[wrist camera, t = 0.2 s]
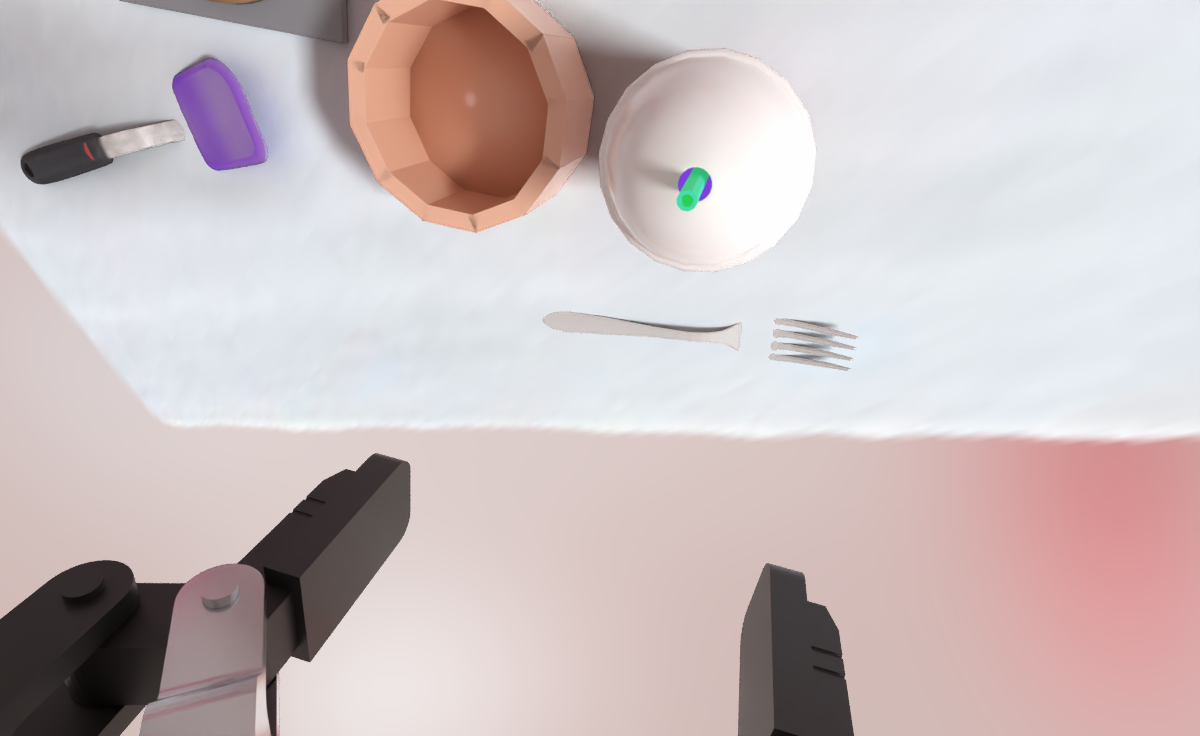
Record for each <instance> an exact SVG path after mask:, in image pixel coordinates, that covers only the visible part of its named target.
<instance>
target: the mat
mask: <svg viewBox="0 0 1200 736" xmlns="http://www.w3.org/2000/svg"><path fill="white" fill-rule="evenodd" d="M120 1H124V2H129V3H134V4H139V5H145V6H150V7H155V8H160V9H166V10H171V11H176V12H181V13H187V14H192V15H197V16H202V17H208V18H213V19H218V20H223V21H229V22H234V23H239V24H244V25H250V26H255V27H260V28H265V29H271V30H276V31H281V32H286V33H291V34H297V35H302V36H307V37H312V38H318V39H323V40H328V41H333V42H339V43H348V33H347V6H346V0H263V1H260V2H256V3H252V4H241V5H237V4H227V3H218V2H212V1H208V0H120Z"/></svg>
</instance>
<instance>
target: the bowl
mask: <svg viewBox="0 0 1200 736" xmlns="http://www.w3.org/2000/svg"><path fill="white" fill-rule="evenodd" d="M347 62H348V88H349V114H350V126H351V128H352V130H353V132H354V134H355V136H356V138H357V141H358V143H359V145H360V147H361V149H362V151H363V153H364V155H365V157H366V159H367V161H368V163H369V165H370V167H371V169H372V171H373V173H374V176H375V178H376V180H377V182H378V183H379V184H380V185H382V186H383V187H384V188H385V189H386V190H387V191H389V192H390V193H391V194H392V195H393V196H395V197H396V198H397V199H398V200H399V201H400V202H402V203H403V204H404V205H405V206H406V207H407V208H409V209H410V210H411V211H412V212H413V213H415V214H416V215H417V216H418V217H419V218H420V219H422V221H427V222H431V223H435V224H440V225H444V226H449V227H453V228H457V229H462V230H466V231H471V232H475V233H477V232H479V231H482V230H484V229H487V228H490V227H493V226H496V225H498V224H501V223H504V222H507V221H510V220H512V219H515V218H518V217H521V216H523V215H526V214H528V213H529V212H531V211H532V210H534V209H535V208H537V207H538V206H540V205H541V204H543V203H544V202H546V201H547V200H549V199H550V198H552V197H553V196H555V195H556V194H557V192H558V191H559V190H560V188H561V187H562V186H563V184H564V183H565V182H566V180H567V179H568V178H569V176H570V175H571V174H572V172H573V171H574V170H575V169H576V167H577V166H578V165H579V163H580V162H581V161H582V159H583V158H584V157H585V155H586V154H587V147H588V140H589V132H590V125H591V118H592V111H593V104H594V94H593V91H592V88H591V85H590V82H589V79H588V76H587V73H586V71H585V68H584V65H583V62H582V59H581V56H580V53H579V50H578V47H577V44H576V41H575V38H574V37H573V36H572V35H571V34H570V33H569V32H567V31H566V30H565V29H564V28H563V27H562V26H561V25H560V24H559V23H558V22H557V21H556V20H555V19H554V18H552V17H551V16H550V15H549V14H548V13H547V12H546V11H545V10H544V9H543V8H542V7H541V6H540V5H539V4H537V3H536V2H535V1H534V0H380V1H378V2H376V3H374V6H373V8H372V10H371V12H370V14H369V16H368V18H367V20H366V22H365V24H364V26H363V28H362V31H361V33H360V35H359V37H358V39H357V41H356V43H355V45H354V47H353V49H352V51H351V53H350V55H349V58H348V59H347Z"/></svg>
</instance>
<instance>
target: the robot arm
mask: <svg viewBox="0 0 1200 736" xmlns="http://www.w3.org/2000/svg"><path fill="white" fill-rule="evenodd" d="M409 518H410V465H409V463H408V462H406V461H403V460H399V459H396V458H392V457H389V456H385V455H381V454H377V453H375V454H373V455H372V456H370V457H369V458H368V459H367V460H366V461H365V462H364V463H363V464H362V465H361V467H359V468H358V470H357V471H356V472H355V471H351V470H347V469H345V470H343V471H341V472H339V473H337V474H335V475H333V476H331V477H329V478H327V479H325V480H323V481H322V482H321V483H320V484H319V485H318V486H317V487H316V488H315V489H314V490H313V491H312V492H311V493H310V494H309V495H308V496H307V498H306V500H303V501H302V502H301V503H300V504H298V506H296V508H294V510H293V512H292V513H289V514H288V515H287V516H286V517H285V518H284V519H283V520H282V521H281V522H280V523H279V524H278V525H277V526H276V527H275V528H274V529H273V530H272V531H271V532H270V533H269V534H268V535H267V536H265V538H263V540H261V541H260V542H259V543H258V544H257V545H256V546H255V547H254V548H253V549H252V550H251V551H250V552H249V553H248V554H247V555H246V556H245V557H244V558H243V559H242V560H241V561H240V562H238V563H237V564H226V565H220V566H216V567H213V568H211V569H208V570H205V571H203V572H201V573H200V574H198V575H196V576H195V577H193V578H192V579H191V580H189V581H188V582H187V583H180V584H176V583H171V584H169V583H136V582H135V578H134V575H133V572H132V570H131V569H130V568H129V567H128V566H127V565H125V564H123V563H120V562H117V561H109V560H103V561H94V562H89V563H85V564H81V565H78V566H75V567H73V568H71V569H69V570H66V571H64V572H62V573H60V574H59V575H57V576H55V577H54V578H52V579H51V580H49V581H48V582H47V583H46V584H44V585H43V586H42V587H40V588H39V589H38V590H37V591H35V592H34V593H33V594H32V595H30V596H29V597H28V598H27V599H25V600H24V601H23V602H22V603H20V604H19V605H18V606H17V607H15V608H14V609H13V610H12V611H10V612H9V613H8V614H7V615H5V616H4V617H3V618H1V619H0V736H120V734H121V733H122V732H123V731H124V730H125V729H126V728H127V727H128V725H129V724H130V723H131V722H132V721H133V720H134V718H135V717H136V716H137V715H138V714H139V713H140V712H141V710H142V709H143V708H144V707H145V706H146V705H147V706H146V709H145V711H144V715H143V719H142V724H141V730H140V735H139V736H279V671H280V669H281V668H282V667H283V665H284V664H285V663H286V662H287V660H288V659H289V658H290V657H291V656H292V657H295V658H298V659H301V660H304V661H307V662H310V661H311V660H312V659H313V658H314V656H315V655H316V654H317V652H318V651H319V650H320V648H321V647H322V646H323V644H324V643H325V641H326V640H327V639H328V637H329V636H330V635H331V633H332V632H333V631H334V629H335V628H336V627H337V625H338V624H339V623H340V621H341V620H342V619H343V617H344V616H345V615H346V613H347V612H348V611H349V609H350V608H351V606H352V605H353V604H354V602H355V601H356V600H357V598H358V597H359V596H360V594H361V593H362V592H363V590H364V589H365V588H366V586H367V585H368V584H369V582H370V581H371V579H372V578H373V577H374V575H375V574H376V573H377V571H378V570H379V569H380V567H381V566H382V565H383V563H384V562H385V561H386V559H387V558H388V556H389V555H390V554H391V552H392V551H393V550H394V548H395V547H396V546H397V544H398V543H399V542H400V540H401V539H402V537H403V535H404V533H405V531H406V528H407V525H408V522H409ZM841 657H842V650H841V643H840V636H839V630H838V628H837V626H836V625H835V623H834V621H833V619H832V618H831V616H830V614H829V612H828V610H827V609H826V607H825V606H822V605H819V604H815V603H812V602H808V601H807V594H806V584H805V577H804V574H803V573H801V572H798V571H794V570H791V569H787V568H783V567H780V566H776V565H772V564H769V563H767V564H766V565H765V566H764V568H763V571H762V573H761V576H760V578H759V581H758V583H757V586H756V589H755V591H754V594H753V596H752V599H751V601H750V604H749V606H748V609H747V612H746V615H745V619H744V622H743V628H742V634H741V646H740V683H739V722H738V736H854V733H853V726H852V720H851V712H850V706H849V699H848V691H847V685H846V680H845V679H844V677H845V671H844V664H843V659H842V658H841Z"/></svg>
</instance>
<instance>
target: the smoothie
mask: <svg viewBox="0 0 1200 736" xmlns="http://www.w3.org/2000/svg"><path fill="white" fill-rule="evenodd" d="M815 155H816V146H815V142H814V137H813V132H812V128H811V123H810V118H809V113H808V112H807V110H806V108H805V107H804V105H803V104H802V102H801V100H800V99H799V97H798V96H797V94H796V92H795V91H794V89H793V88H792V86H791V84H790V83H789V82H788V81H787V80H786V79H785V78H783V77H782V76H781V75H780V74H778V73H777V72H776V71H774V70H773V69H772V68H771V67H769V66H768V65H767V64H766V63H764V62H763V61H762V60H761V59H758V58H755V57H751V56H748V55H745V54H742V53H738V52H735V51H732V50H729V49H725V48H722V49H701V50H687V51H685V52H682V53H680V54H678V55H675V56H673V57H671V58H668V59H666V60H663V61H661V62H659V63H656V64H654V65H653V66H652V67H650V68H649V69H648V70H647V71H646V72H645V73H643V74H642V75H641V76H640V77H639V78H638V79H636V80H635V81H634V82H633V83H632V84H631V85H630V86H628V87H627V88H626V90H625V91H624V93H623V95H622V96H621V98H620V99H619V101H618V103H617V104H616V106H615V108H614V109H613V111H612V113H611V114H610V116H609V118H608V119H607V123H606V127H605V131H604V135H603V138H602V142H601V146H600V150H599V170H600V187H601V190H602V193H603V196H604V199H605V202H606V205H607V208H608V210H609V213H610V216H611V218H612V219H613V221H614V222H615V223H616V225H617V226H618V228H619V229H620V230H621V232H622V233H623V234H624V236H625V237H626V238H627V240H628V241H629V242H630V243H631V244H632V245H634V246H635V247H636V248H638V249H639V250H640V251H642V252H643V253H644V254H646V255H647V256H649V257H650V258H651V259H653V260H654V261H656V262H659V263H662V264H665V265H668V266H671V267H674V268H677V269H680V270H683V271H705V272H717V271H720V270H724V269H727V268H731V267H734V266H738V265H741V264H745V263H747V262H749V261H751V260H752V259H754V258H755V257H757V256H759V255H760V254H762V253H763V252H765V251H766V250H768V249H770V248H771V247H773V246H774V245H776V243H777V242H778V241H779V240H780V239H781V238H782V236H783V235H784V234H785V233H786V232H787V231H788V229H789V228H790V227H791V226H792V225H793V223H794V222H795V221H796V220H797V219H798V217H799V215H800V212H801V210H802V208H803V206H804V203H805V201H806V199H807V197H808V194H809V192H810V190H811V188H812V184H813V174H814V165H815Z"/></svg>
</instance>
